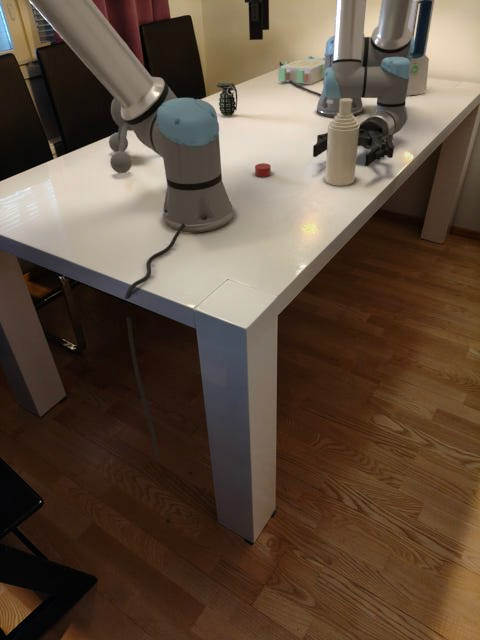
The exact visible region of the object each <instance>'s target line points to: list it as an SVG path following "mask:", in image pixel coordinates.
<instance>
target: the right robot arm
mask: <svg viewBox="0 0 480 640" xmlns="http://www.w3.org/2000/svg"><path fill="white" fill-rule="evenodd" d="M412 3H413V0H381V4H380V11H379V17H378V24H377V26H376V27H375V28H374V29H373V30H372V34H371V36H365V23H366V22H365V21H366V11H367V10H366V8H367V0H336V5H335V17H334V18H335V19H334V34H333V36H330V37H329V38H328V39H327V40H326V43H325V52H324V58H325V71H324V79H323V87H322V90H321V93H319V92H317V91H314V90H311V89H309V88H306V87H304V86H302V85H299V84H298V83H294V82H292V81H291V80H290V81H289V82H288V83H290V84H292V85H293V86H295V87H297V88H299V89H302V90H304V91H306V92H308V93H311V94H314V95H317V96H319V99H318V102H317V106H316V113H317V114H318V115H320V116H322V117H327V118H334V117H335V116H336V115H337V113H339V104H340V102H339V101H340V99H342V98H350V99H352V107H351V113H352V114H353V116H355V117H356V116H359V115H360V114H362V113H363V100H362V99H376V108H375V113H374V114H373V115H370V116H369V117H368V118H366V119H365V120H363V121H361V122H360V123H359V126H360V128H359V138H358V147H360V146H361V147H362V148H364V149H367V150H370V151H368V152H367V153H366V154H365V160H364V167H369V166H371V165H372V164H373V163H374V162H375V161H378V160H380V159H382V158H385V157H387V158H389V159H392V158H393V157H394V152H395V151H394V150H395V145H394V142H393V140H394V139H393V138H394V135H395V134H397V133H398V132H400V131H401V130H402V128H403V127H404V126H405V125H406V124H407V121H408V118H409V113H408V110H407V108H406V100H407V96H406V94H407V88H408V82H409V74H410V65H411V60H412V54H413V51H414V41H415V36H414V37H413V36H411V31H410V30H409V28H408V23H409V18H410V13H411V8H412ZM279 64H280V67H281V66H283V65H284V64H283V63H282V62H281V61H279ZM327 138H328V132H326V133H322V134H318V135H317V136H316V143H315V144H314V145H313V146H312V157H313V158H317V157H318V156H319V155H321V154H323V153H324V152H327Z"/></svg>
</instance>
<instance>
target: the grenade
mask: <svg viewBox="0 0 480 640" xmlns="http://www.w3.org/2000/svg"><path fill="white" fill-rule="evenodd" d="M215 87H217V88H219V89H221V93H219V97H218V101H219V102H218V106H219V108H218V109H219V112H220V114H221V115H222V116H224V117H231V116H233V115H234V113H235V112H236V111H237V108H238V89H237V87H236V85H235V84H234V83H233V82H218V83H217V84H216V86H215ZM232 91H233V92H232ZM234 94H235V96H234Z"/></svg>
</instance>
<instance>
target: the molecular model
mask: <svg viewBox="0 0 480 640" xmlns="http://www.w3.org/2000/svg"><path fill="white" fill-rule="evenodd" d="M124 42H125V41H124ZM125 43H126V42H125ZM126 45H127V46H128V47H129V45H128V43H126ZM110 115H111V117H112V120H113V121H114V122H115V124H116V125H117V126H118V132H114V133H112V134H110V136H109V139H108V146H109V148H110V150H112V151H113V152H114V153H112V155H111V157H110V159H109V162H110V167H111V168H112V170H113V171H115V172H116V173H118V174H126V173H127V172H129V170H131V168H132V163H133V162H132V158H131V156H130V155H129V154H128V153H127V152H125V151H126V150H127V149H128V146H129V141H128V138H127V136H128V131H129V132H131V131H132V132H134V131H133V129H132V128H131V127H130V126H129V125H128V124H127V122H126V121H125V120H124V119H123V118H122V116H121V105H120V104H119V102H118V101H117V100H116V99H115V98H114V97H113V99H112V101H111V105H110Z"/></svg>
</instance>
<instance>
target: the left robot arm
mask: <svg viewBox="0 0 480 640" xmlns="http://www.w3.org/2000/svg"><path fill="white" fill-rule="evenodd" d="M28 1H29V3H30V4H31V5H32V6H33V7H34V8H35V10H37V12H38V13H39V14H40V15H41V16H42V18H44V20H45V21H46V22H47V23H48V24H49V25H50V26H51V27H52V29H53V30H54V31H55V32H56V34H58V36H59V37H60V38H61V39H62V40H63V42H65V43H66V45H67V46H68V47H69V48H70V49H71V50H72V52H74V54H75V55H76V56H77V57H78V58H79V60H81V62H82V63H83V65H85V66H86V68H87V69H88V70H89V71H90V72H91V73H92V74H93V75H94V76H95V78H96V79H97V80H98V81H99V82H100V84H102V86H103V87H104V88H105V89H106V91H108V92H109V93H110V95H111V96H112V97H113V99H114V98H115V99H116V100H117V101H118V102H119V104H120V105H121V116H122V118H123V119H124V120H125V121H126V122H127V124H128V125H129V126H130V127H131V128H132V129H133V131H132V132H133V133H134V135H135V136H136V138H137V140H139V141H140V142H141V143H142V144H143V145H144V147H145V146H146V147H147V148H149V149H151V150H152V151H153V152H154V153H156V155H158V156H159V157H161V158H162V159H163V168H164V173H165V180H166V190H165V191H166V192H165V196H164V203H163V207H162V218H163V222H164V224H165V226H167V227H168V228H169V229H171V230H173V231H176V233H175V234H174V235H173V237H172V239H171V241H170V243H169V244H168V245H167V247H165V248H164V249H162V250H160V251H159V252H156V253H154V254H153V255H151V256H150V257H149V258H148V259H147V261H146V265H145V266H146V273H145V275H144V276H143V277H142V278H140V279H138V280H135V281H134V282H133V283H131V285H130V286H129V287H128V289H127V291H126V293H125V296H124V297H125V298H124V299H125V300H128V299H130V297H131V295H132V292H133V291H134V289H135V288H136V287H137V286H139V285H141V284H143V283H145V282H146V281H147V280H149V279H150V277H151V275H152V267H151V263H152V262H153V261H154V260H155V259H156V258H159V257H160V256H161V257H162V255H164V254H166V253H167V252H169V251H170V250H171V249H172V247H174V245H175V243H176V241H177V239H178V237H180V235H181V233H190V234H191V233H192V234H193V233H194V234H195V233H196V234H197V233H205V232H206V233H207V232H210V231H215V230H216V229H220V228H222V227H224V226H226V225H227V224H228V223H230V221H231V220H232V218H233V216H234V212H233V211H234V210H233V204H232V201H231V200H230V197H229V195H228V192H227V190H226V187H225V184H224V182H223V175H222V174H223V173H222V161H221V159H222V158H221V145H220V124H219V120H218V114H217V111H216V109H215V107H214V105H212V104H211V103H210V102H209V101H208V102H207V101H206V100H203V99H199V98H196V99H195V98H194V97H177V95H176V94H175V93H174V91H173V90H171V89H172V88H170V86H169V85H168V84H167V83H166V81H165V80H164V79H163V78H162V77H157V76H152V75H151V74H150V73H149V71H148V70H147V69H146V68H145V66H144V65H143V64H142V62H141V61H140V60H139V59H138V57H137V56H136V55H135V54H134V52H133V51H132V50H131V49H130V46H129V45H128V44H127V45H128V46H127V45H126V43H125V41H124V39H123V38H122V37H121V36H120V34H119V33H118V32H117V30H116V29H115V28H114V27H113V25H112V24H111V23H110V21H108V19H107V18H106V17H105V15H104V14H103V13H102V11H101V10H100V9H99V8H98V6H97V5H96V4H95V2H94V1H93V0H28ZM244 3H245V4H247V5H248V32H249V36H248V37H249V41H261V40H262V41H263V40H264V31H268V30H269V31H270V0H244ZM125 318H126V327H127V335H128V341H129V347H130V353H131V359H132V365H133V367H134V368H133V369H134V374H135V377H136V382H137V386H138V390H139V393H140V399H141V400H142V401H141V402H142V405H143V409H144V413H145V418H146V420H147V424H148V427H149V432H150V436H151V439H152V444H153V447H154V452H155V456H156V457H157V458H158V457H160V455H161V454H160V451H159V447H158V442H157V437H156V434H155V430H154V426H153V422H152V418H151V415H150V410H149V406H148V403H147V400H146V396H145V391H144V387H143V383H142V378H141V375H140V370H139V369H140V368H139V365H138V361H137V354H136V349H135V343H134V342H135V341H134V335H133V327H132V318H130V317H129V316H128V317H127V316H126V317H125Z"/></svg>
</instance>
